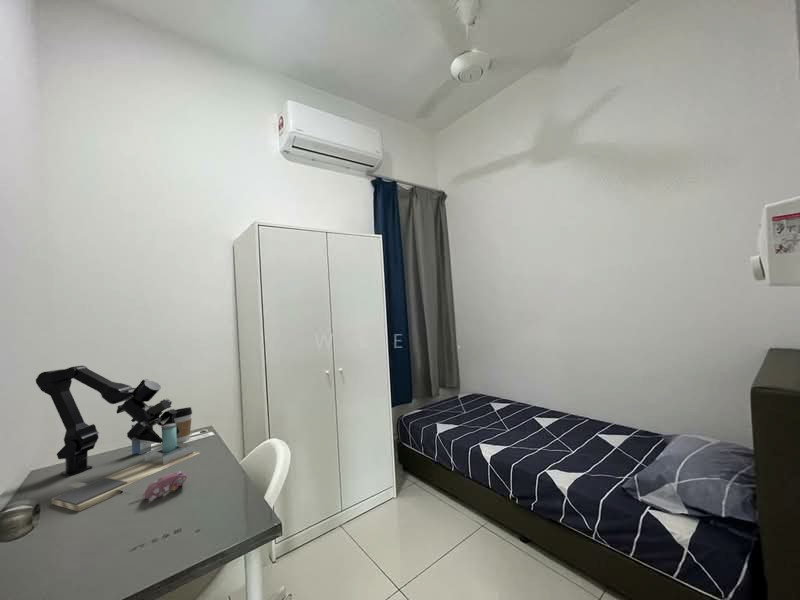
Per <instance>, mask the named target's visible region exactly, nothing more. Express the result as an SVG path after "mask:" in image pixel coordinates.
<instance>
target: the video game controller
mask: <svg viewBox="0 0 800 600" xmlns="http://www.w3.org/2000/svg"><path fill="white" fill-rule="evenodd" d="M187 479H188V477H187V475H186V474H185V473H184V472H183V471H181V470H180V471H177V472H172V473H167V474H164V475H162V477H160V478H158V479H155V480H153V481H152V482H150V484H149V485H148V486H147V488H146V489H145V492H144V494H143V496H144V499H145V500H149V499H150V498H151V497H154V496H155V497H156V498H161V497H163V496H164V495H165V493H166V488H167V487H168V491H169V493H173V492H176V490H177V489H178V488H179V487H180V486H183V485H184V484H185V482H186V480H187ZM172 491H173V492H172ZM160 496H161V497H160Z"/></svg>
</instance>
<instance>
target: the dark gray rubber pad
mask: <svg viewBox="0 0 800 600" xmlns="http://www.w3.org/2000/svg"><path fill="white" fill-rule="evenodd" d="M97 480H98V481H97ZM97 480H95V481H92V482H93V483H92V482H90V483H87V484H88V485H87V484H86V485H85V484H84V485H83V487H82V486H80V487H77V488H78V489H77V488H75V489H73V491H72V490H70V491H68V493H67V492H64V493H65V494H64V493H62V494H63V495H62V494H60V496H59V495H57V496H58V497H57V496H55V498H54V497H53V498H54V499H55V500H58V501H62V502H66V503H70V504H73V505H78V504H80V503H83V502H85V501H87V500H90V499H92V498H94V497H96V496H99V495H101V494H103V493H106V492H108V491H110V490H113V489H115V488H117V487H119V486H122V485H124V484H126V483H127V482H125V481H120V480H115V479H110V478H105V477H103V479H102V478H100V479H97Z"/></svg>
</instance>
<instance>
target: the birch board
mask: <svg viewBox="0 0 800 600" xmlns="http://www.w3.org/2000/svg"><path fill="white" fill-rule="evenodd" d="M199 454H200V452H198V451H194V453H192V454H189V455H187V456H185V457H182V458H180V459H178V460H175V461H173V462H171V463H168V464H166V465H164V466H162V465H156V464H149V463H144V461H142V462H141V463H138V464H135V465H133V466H130V467H128V468H125V469H123V470H120V471H117V472H114V473H113V474H112V473H111V474H110V475H108V476H105V477H103V478H110V479H115V480H120V481H125V482H127V483H126V484H124V485H122V486H119V487H117V488H115V489H113V490H110V491H108V492H106V493H103V494H101V495H99V496H96V497H94V498H92V499H90V500H87V501H85V502H83V503H80V504H78V505H73V504H70V503H66V502H62V501H58V500H55V499H54V498H55V497H58V496H60V495H63V494H65V493H68V492H69V491H68V492H64V493H62V494H60V495H57V496H55V497H53V498H51V505H54V506H57V507H62V508H64V509H68V510H72V511H75V512H79V513H80V512H81V511H84V510H86V509H88V508H90V507H92V506H94V505H97V504H99V503H101V502H103V501H106V500H108V499H110V498H112V497H115V496H117V495H119V494H121V493H124V492H123V491H124V490H120V489H122V488H124V487H126V486H128V485H130V484H133V483H135V482H138V481H139V480H142V479H144V478H146V477H149V476H151V475H153V474H156V473H158V472H160V471H163V470H165V469H167V468H170V467H171V466H173V465H177V464H178V463H180V462H183V461H185V460H188V459H190V458H192V457H195V456H196V455H199ZM103 478H101V479H103ZM98 480H99V479H97V480H96V481H98ZM93 482H94V481H92V482H91V483H93ZM88 484H89V483H87V484H86V485H88ZM83 486H84V485H83ZM83 486H81V487H83ZM78 488H79V487H77V488H76V489H78ZM73 490H74V489H73ZM73 490H71V491H73Z"/></svg>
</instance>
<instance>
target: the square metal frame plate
mask: <svg viewBox="0 0 800 600" xmlns="http://www.w3.org/2000/svg"><path fill="white" fill-rule="evenodd" d="M194 452H195V450H194V444H188V443H183V442H181V443H177V449H176V450H173V451H171V452H168V453H162V447H159V448H158V449H155V450H151V451H149V452H146V453H143V455H144V459H143V460H144V461H143V462H144V463H149V464H156V465H162V466H164V465H166V464H168V463H171V462H173V461H175V460H178V459H180V458H182V457H185V456H187V455H189V454H192V453H194Z"/></svg>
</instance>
